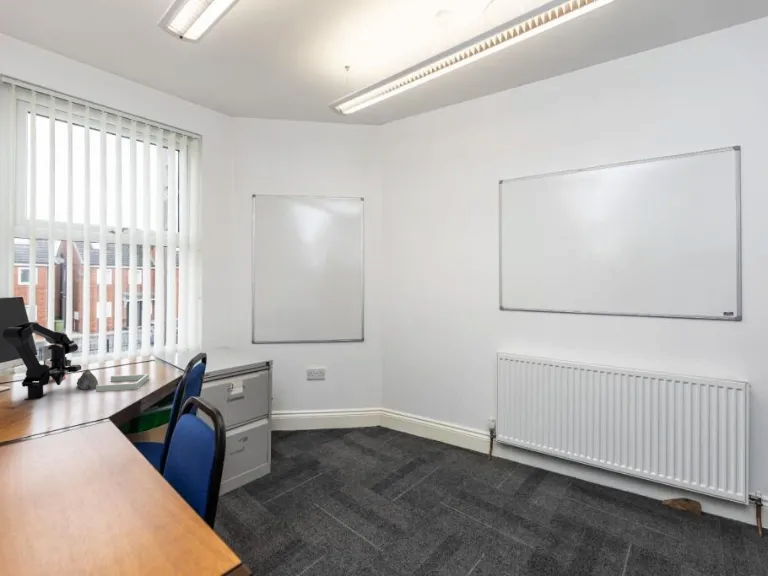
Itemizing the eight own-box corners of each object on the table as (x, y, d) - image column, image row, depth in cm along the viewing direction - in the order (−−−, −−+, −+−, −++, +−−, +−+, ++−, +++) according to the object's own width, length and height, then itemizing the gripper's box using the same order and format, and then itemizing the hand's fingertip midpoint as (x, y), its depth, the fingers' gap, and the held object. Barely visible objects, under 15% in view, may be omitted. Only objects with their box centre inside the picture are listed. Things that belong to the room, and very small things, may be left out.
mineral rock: (78, 385, 209) (77, 367, 208) (102, 382, 214) (101, 365, 213) (72, 391, 197) (72, 373, 197) (97, 389, 203) (97, 370, 202)
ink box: (66, 378, 220) (66, 358, 220) (58, 381, 215) (57, 360, 215) (53, 377, 221) (52, 358, 221) (44, 380, 216) (44, 360, 216)
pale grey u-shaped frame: (136, 388, 204) (136, 383, 204) (96, 391, 199) (95, 385, 198) (148, 378, 222) (148, 373, 222) (111, 381, 217) (111, 375, 217)
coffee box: (56, 372, 234) (55, 346, 233) (43, 372, 232) (42, 347, 231) (63, 368, 242) (63, 343, 242) (51, 368, 241) (51, 344, 240)
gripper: (86, 352, 211) (86, 379, 212) (46, 353, 206) (46, 381, 207) (75, 356, 201) (76, 385, 201) (33, 358, 196) (34, 387, 196)
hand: (58, 384), depth 202 cm, fingers closed
